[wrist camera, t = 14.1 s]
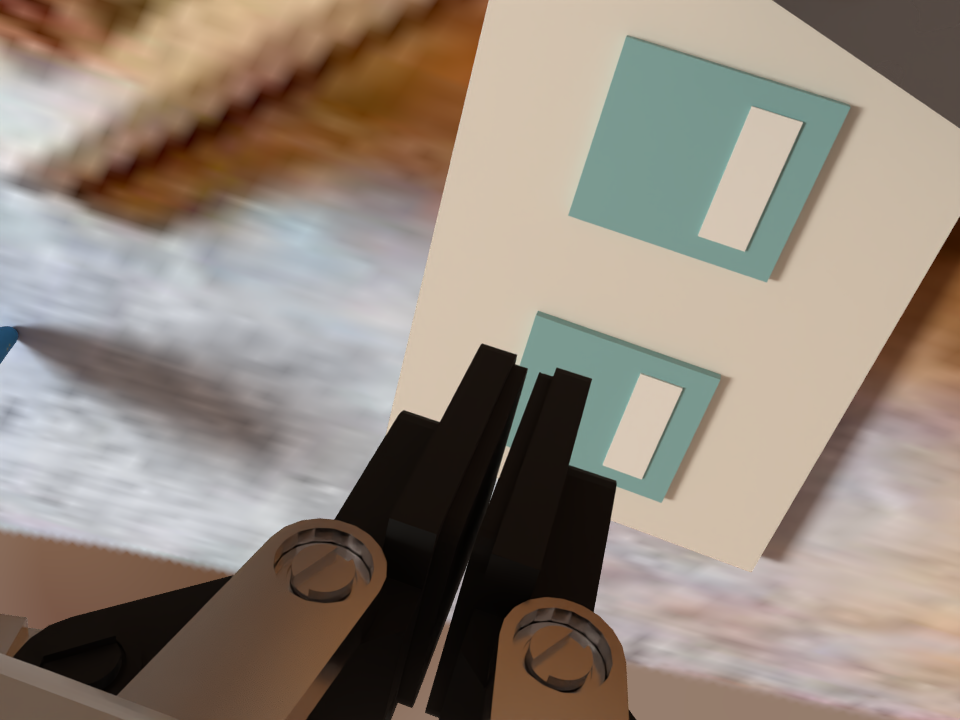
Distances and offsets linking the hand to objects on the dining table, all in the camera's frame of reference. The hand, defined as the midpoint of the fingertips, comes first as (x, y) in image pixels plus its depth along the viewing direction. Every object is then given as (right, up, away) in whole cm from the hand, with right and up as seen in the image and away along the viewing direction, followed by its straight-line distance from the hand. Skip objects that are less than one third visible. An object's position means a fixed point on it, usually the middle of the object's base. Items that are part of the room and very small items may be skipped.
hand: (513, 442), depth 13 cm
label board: (+6, +6, +18) cm, 20 cm away
